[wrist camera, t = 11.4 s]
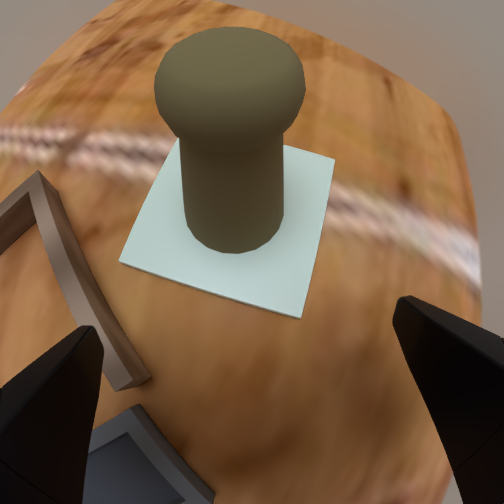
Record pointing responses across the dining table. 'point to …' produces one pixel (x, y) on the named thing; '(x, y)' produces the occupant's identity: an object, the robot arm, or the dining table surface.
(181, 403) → the dining table surface
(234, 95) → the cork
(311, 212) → the sage pad
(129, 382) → the frame
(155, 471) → the tray
